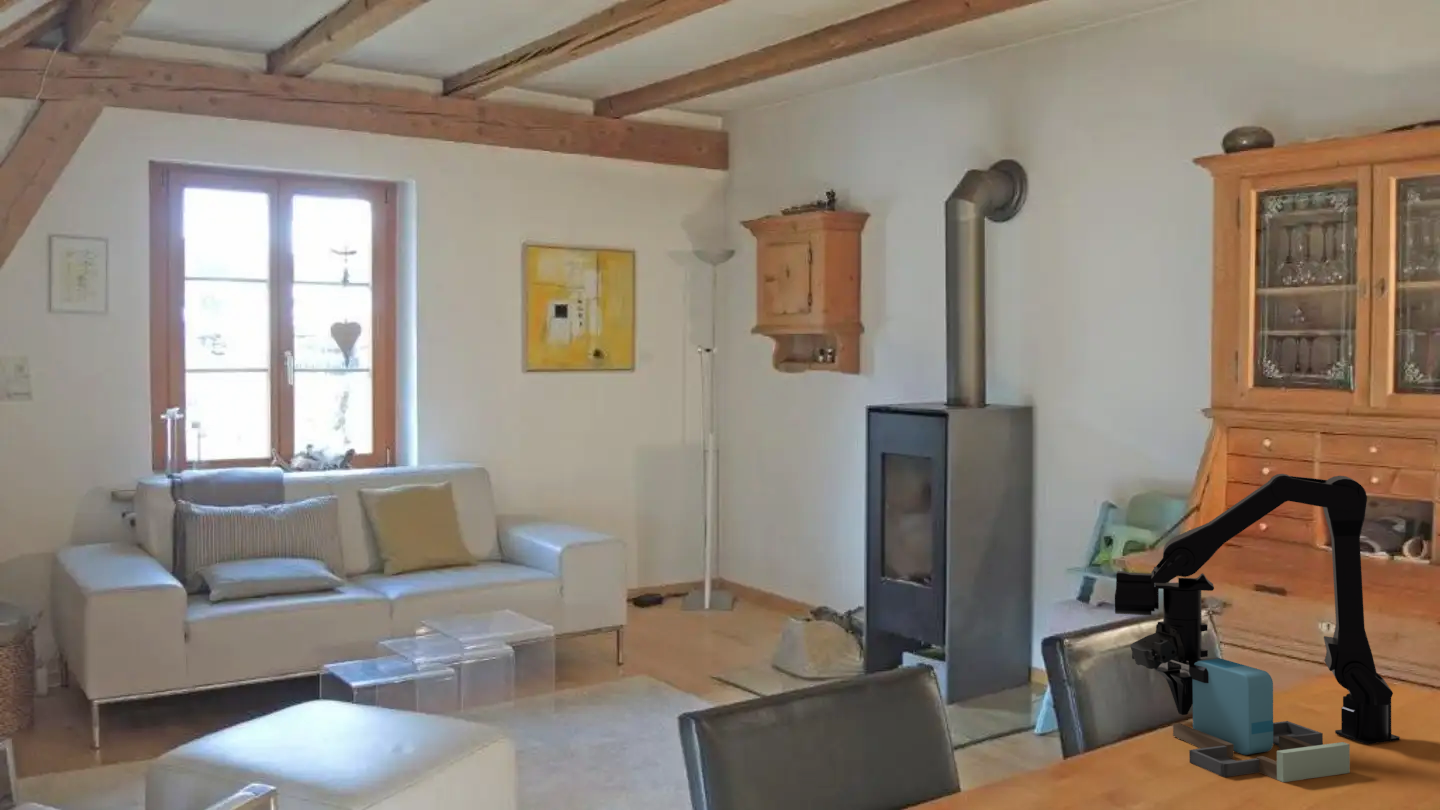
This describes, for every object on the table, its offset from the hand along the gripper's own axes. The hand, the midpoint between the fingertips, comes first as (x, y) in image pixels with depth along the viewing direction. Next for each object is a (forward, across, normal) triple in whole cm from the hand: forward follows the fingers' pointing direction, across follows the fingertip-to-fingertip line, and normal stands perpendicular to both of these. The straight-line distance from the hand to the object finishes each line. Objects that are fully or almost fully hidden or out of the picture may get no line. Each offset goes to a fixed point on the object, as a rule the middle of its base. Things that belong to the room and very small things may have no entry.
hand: (1182, 714), depth 202 cm
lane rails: (+2, +16, 0) cm, 16 cm away
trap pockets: (+2, +16, 0) cm, 16 cm away
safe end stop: (+2, +28, 0) cm, 28 cm away
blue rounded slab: (+2, +12, 0) cm, 12 cm away
